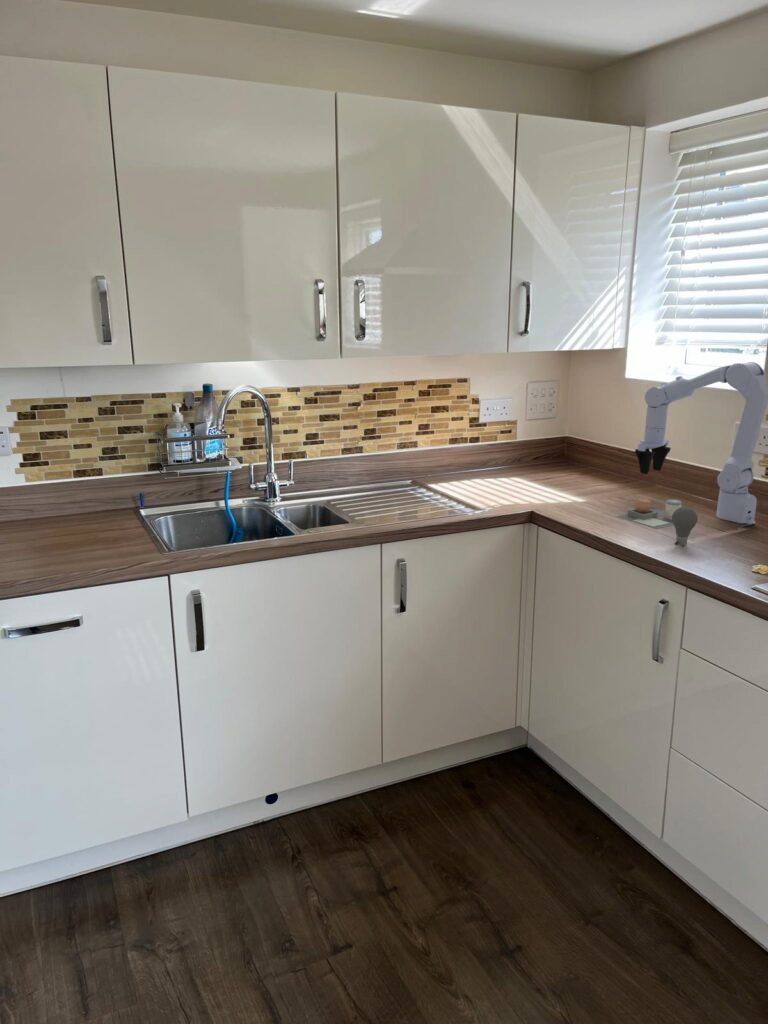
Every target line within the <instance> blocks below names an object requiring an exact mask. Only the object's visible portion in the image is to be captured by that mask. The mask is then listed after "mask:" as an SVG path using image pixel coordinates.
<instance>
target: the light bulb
mask: <svg viewBox="0 0 768 1024" xmlns="http://www.w3.org/2000/svg"><path fill="white" fill-rule="evenodd" d="M671 521H672V522H673V524H674V525H673V526H674V528H675V535H676V542H675V543H676V544H677V545H679V546H685V545H688V539H689V536H690V535H691V531H692V530H693V529H694V528H695V526H696V525H697V522H698V514H697V513H696V511H695V510H694V509H693V508H692V507H689V506H681V507H680V508H678V509H677V510H675V511H674V513H673V515H672V520H671Z"/></svg>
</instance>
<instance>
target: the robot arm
mask: <svg viewBox="0 0 768 1024" xmlns="http://www.w3.org/2000/svg"><path fill="white" fill-rule="evenodd" d="M766 375H767V372H766V371H765V370H764V369H763V368H762V366H761V365H760V364H758V363H757V362H754V361H748V362H743V363H741V362H740V363H739V362H738V363H733V364H731V365H730V364H729V365H724V366H720V367H716V368H714V369H712V370H710V371H708V372H706V373H702V374H700V375H697V376H695V377H693V378H690V377H688V376H682V375H681V376H677V377H675V380H672V381H669V382H662V383H661V384H660V386H651V388H649V389H647V391H646V392H645V394H644V401H645V403H646V404H647V406H646V407H647V408H646V415H645V425H644V426H645V429H644V437H643V439H641V440H640V441H639V442H640V443H638V445H637V448H635V450H634V453H635V456H636V457H637V460H638V464H639V470H640V474H644V475H648V474H649V472H650V468H651V463H652V470H654V471H658V472H661V470H662V468H663V465H664V463H665V460H666V458H667V456H668V455H669V453H670V452H671V447H670V446H669V442H670V440H669V439H667V438H665V435H666V426H667V418H668V417H667V416H668V410H669V405H670V404H671V403H674V402H677V401H679V400H683V399H685V398H689V397H691V396H692V395H693V394H694V392H695V390H698V389H700V388H703V387H707V386H710V385H713V384H715V383H719V382H720V383H722V384H728V385H729V386H730V387H732V388H733V389H735V390H736V391H738V392H739V393H740V394H741V395H742V397H743V398H744V399H745V404H744V407H743V410H742V414H741V418H740V422H739V426H738V429H737V432H736V436H735V439H734V443H733V447H732V450H731V453H730V456H729V457H728V459H727V461H725V463H724V466H723V469H722V470H721V471H720V473H719V474H718V476H717V485H718V486H719V494H718V499H717V500H718V501H717V507H716V508H717V509H716V515H715V517H716V518H717V519H721V520H723V521H724V520H725V521H729V522H730V521H731V522H733V523H738V524H745V525H740V526H739V528H742V527H746V526H750V525H754V524H756V521H755V517H756V512H757V511H756V510H757V497H756V496H755V495H753V494H750V492H749V486H750V485H751V484H752V483H753V481H754V471H753V467H754V462H753V456H754V455H753V454H754V452H755V447H756V444H757V440H758V438H759V434H760V432H761V431H760V430H761V428H762V427H761V426H762V423H763V419H764V417H765V412H766V410H767V405H768V383H767V380H766ZM650 450H651V451H650Z"/></svg>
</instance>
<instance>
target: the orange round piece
mask: <svg viewBox="0 0 768 1024" xmlns="http://www.w3.org/2000/svg"><path fill="white" fill-rule="evenodd" d="M651 503H652V501H651V500H650V499H647V498H638V499H637V500H636V508H635V509H636V511H638V512H643V513H647V512H650V509H651Z"/></svg>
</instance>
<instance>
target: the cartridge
mask: <svg viewBox="0 0 768 1024" xmlns="http://www.w3.org/2000/svg"><path fill="white" fill-rule="evenodd" d="M665 501H666V503H665V508H664V509H665V510H664V511H665V516H664V519H667V520H671V521H672V515H673V513H674V511H675V510H677V509H678V508H680V507H682V502H683V501H681V500H678V499H666V500H665Z"/></svg>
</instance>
